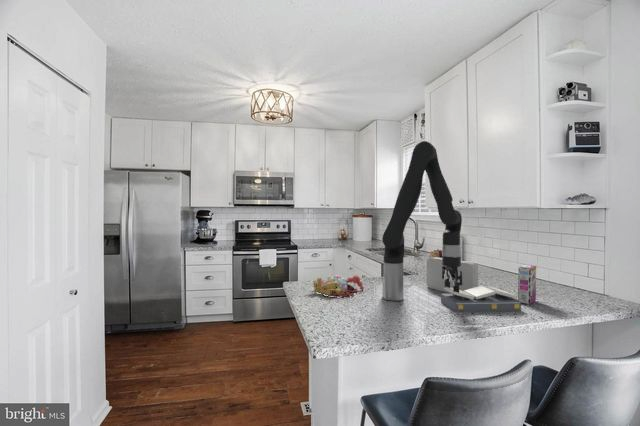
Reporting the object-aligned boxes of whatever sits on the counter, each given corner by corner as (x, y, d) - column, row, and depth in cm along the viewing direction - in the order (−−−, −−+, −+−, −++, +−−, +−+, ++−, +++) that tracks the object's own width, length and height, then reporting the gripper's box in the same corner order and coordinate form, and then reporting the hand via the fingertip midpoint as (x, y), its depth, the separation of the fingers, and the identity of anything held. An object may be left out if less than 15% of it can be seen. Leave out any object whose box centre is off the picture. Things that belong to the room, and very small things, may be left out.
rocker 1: (454, 294, 134) (455, 291, 134) (443, 288, 144) (444, 286, 144) (473, 299, 134) (474, 296, 134) (461, 293, 145) (462, 290, 145)
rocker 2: (476, 299, 134) (476, 296, 134) (464, 293, 145) (463, 290, 145) (495, 294, 134) (494, 291, 134) (481, 288, 145) (481, 285, 145)
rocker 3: (498, 293, 135) (499, 291, 135) (484, 288, 145) (485, 285, 145) (517, 298, 135) (517, 296, 135) (501, 292, 145) (502, 290, 145)
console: (455, 311, 132) (455, 299, 132) (440, 302, 146) (440, 291, 146) (521, 311, 133) (521, 298, 133) (500, 301, 147) (500, 290, 147)
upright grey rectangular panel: (480, 296, 156) (480, 262, 156) (472, 298, 153) (472, 263, 153) (434, 286, 179) (434, 256, 179) (426, 287, 175) (426, 257, 175)
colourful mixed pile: (347, 302, 148) (347, 282, 148) (305, 295, 161) (305, 277, 161) (368, 291, 170) (368, 273, 170) (329, 286, 182) (329, 269, 182)
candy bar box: (530, 305, 141) (530, 268, 141) (517, 303, 145) (517, 267, 145) (536, 300, 149) (536, 265, 149) (524, 298, 152) (524, 264, 152)
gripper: (436, 253, 146) (436, 288, 146) (450, 257, 132) (450, 296, 132) (452, 252, 147) (452, 288, 146) (468, 257, 132) (468, 296, 132)
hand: (451, 292), depth 139 cm, fingers open, 8 cm apart
